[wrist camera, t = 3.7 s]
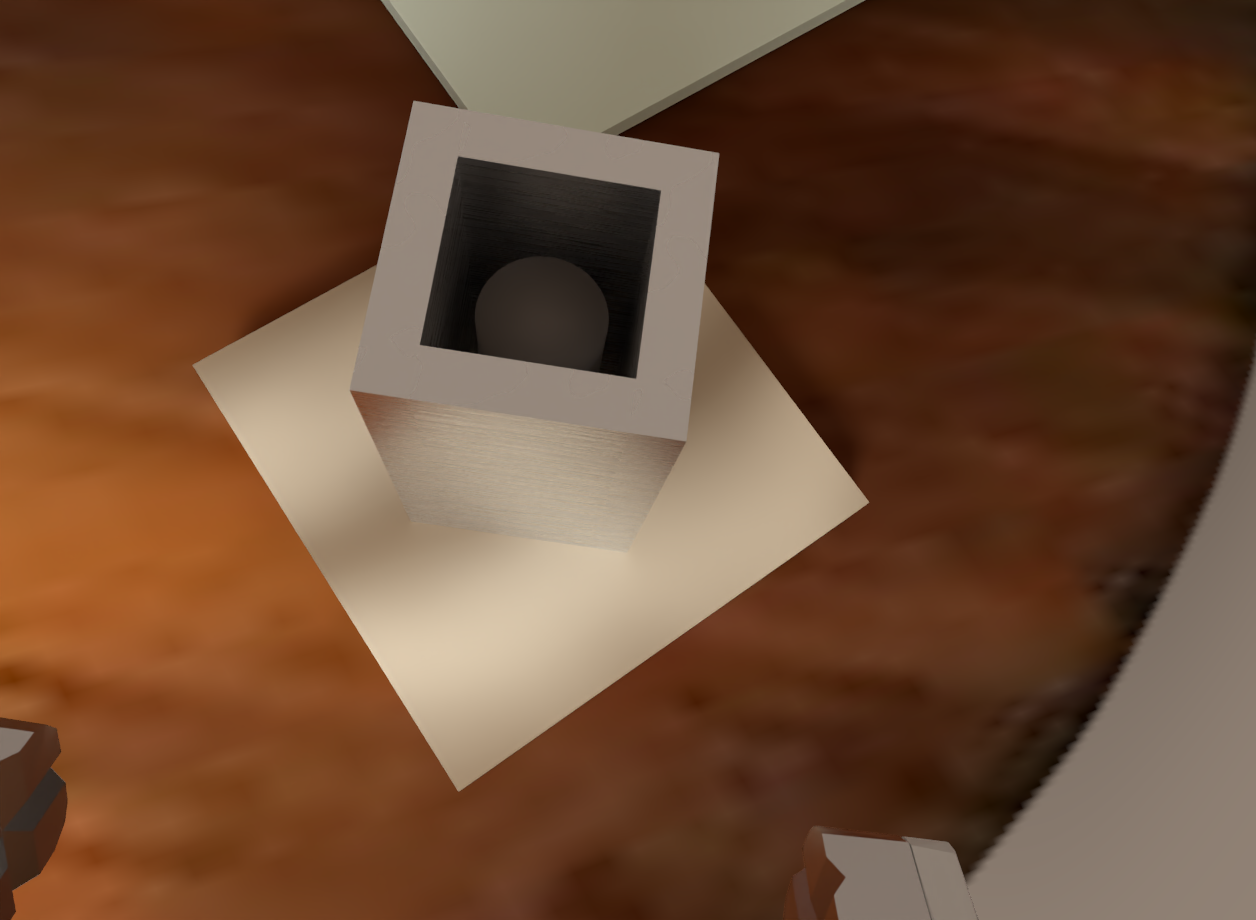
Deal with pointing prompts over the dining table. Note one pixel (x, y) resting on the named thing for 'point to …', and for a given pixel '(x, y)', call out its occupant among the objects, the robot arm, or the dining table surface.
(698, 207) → the steel sleeve
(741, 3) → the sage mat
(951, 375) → the dining table surface
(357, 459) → the peg stand
